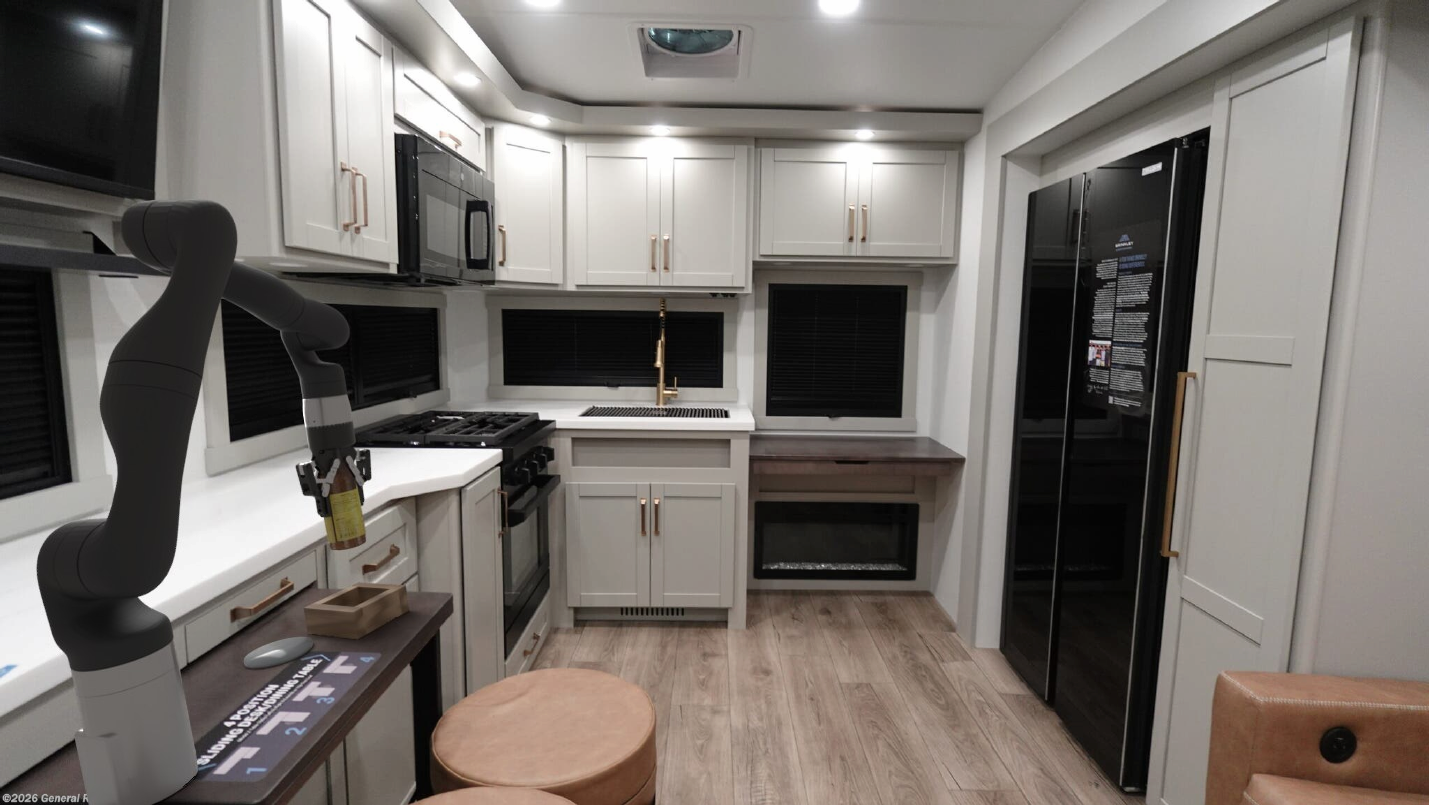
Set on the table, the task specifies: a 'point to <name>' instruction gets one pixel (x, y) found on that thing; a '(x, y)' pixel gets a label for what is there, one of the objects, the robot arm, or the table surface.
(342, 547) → the sauce bottle
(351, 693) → the table surface
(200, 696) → the table surface
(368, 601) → the walnut holder
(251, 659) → the slate coaster
